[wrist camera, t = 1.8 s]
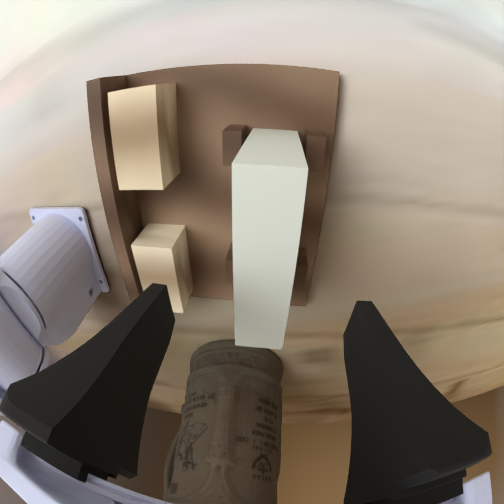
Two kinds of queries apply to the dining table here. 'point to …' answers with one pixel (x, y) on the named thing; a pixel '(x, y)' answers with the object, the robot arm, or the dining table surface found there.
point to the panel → (266, 233)
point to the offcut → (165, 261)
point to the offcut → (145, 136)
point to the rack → (217, 162)
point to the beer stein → (228, 429)
